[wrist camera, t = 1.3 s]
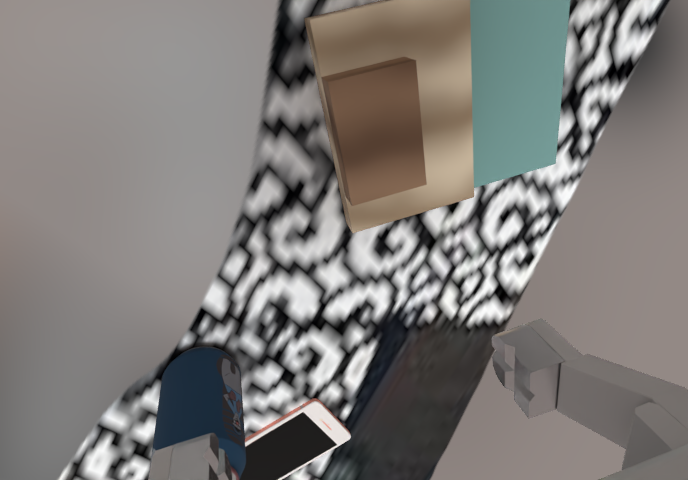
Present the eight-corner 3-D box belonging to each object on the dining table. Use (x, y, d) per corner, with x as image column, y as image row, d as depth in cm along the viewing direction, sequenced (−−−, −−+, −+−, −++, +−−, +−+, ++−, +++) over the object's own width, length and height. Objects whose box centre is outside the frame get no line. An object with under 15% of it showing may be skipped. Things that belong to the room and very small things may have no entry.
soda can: (153, 388, 40) (132, 518, 30) (178, 333, 38) (164, 454, 28) (224, 399, 43) (226, 521, 33) (251, 349, 41) (262, 463, 31)
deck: (304, 18, 28) (309, 19, 27) (455, -17, 30) (469, -17, 28) (346, 222, 37) (352, 233, 35) (462, 188, 38) (474, 197, 37)
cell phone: (178, 475, 48) (177, 483, 47) (315, 393, 47) (317, 400, 46) (226, 504, 52) (226, 512, 52) (351, 431, 52) (353, 437, 51)
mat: (459, -18, 30) (462, -18, 29) (569, -43, 31) (574, -43, 30) (465, 187, 38) (468, 189, 38) (551, 161, 39) (555, 163, 39)
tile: (321, 77, 29) (327, 82, 27) (404, 56, 29) (416, 60, 28) (345, 195, 33) (351, 206, 32) (416, 175, 34) (426, 184, 32)
